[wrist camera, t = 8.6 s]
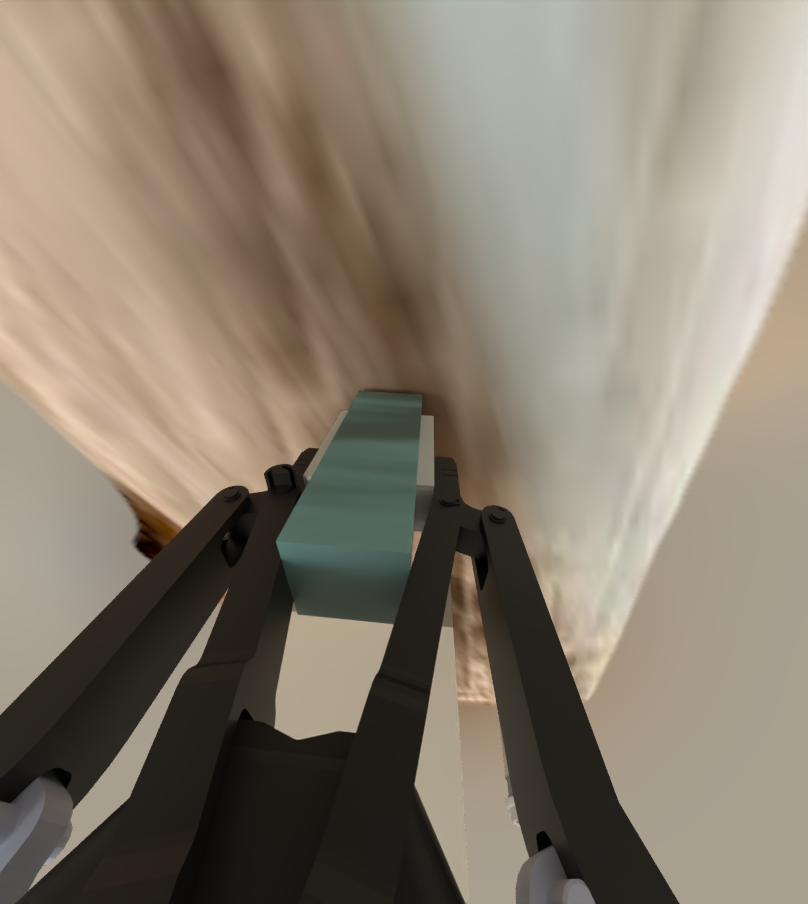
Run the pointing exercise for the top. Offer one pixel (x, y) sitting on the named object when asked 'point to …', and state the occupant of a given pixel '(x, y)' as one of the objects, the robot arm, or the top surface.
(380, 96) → the top surface
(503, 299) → the top surface
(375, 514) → the teal mallet
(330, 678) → the cupboard
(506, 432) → the top surface
